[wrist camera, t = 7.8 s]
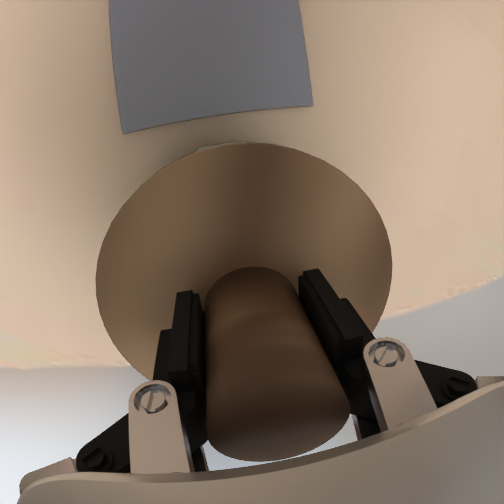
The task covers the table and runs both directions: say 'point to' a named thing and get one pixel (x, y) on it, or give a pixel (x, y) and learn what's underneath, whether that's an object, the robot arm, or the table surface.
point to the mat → (206, 58)
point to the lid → (247, 285)
